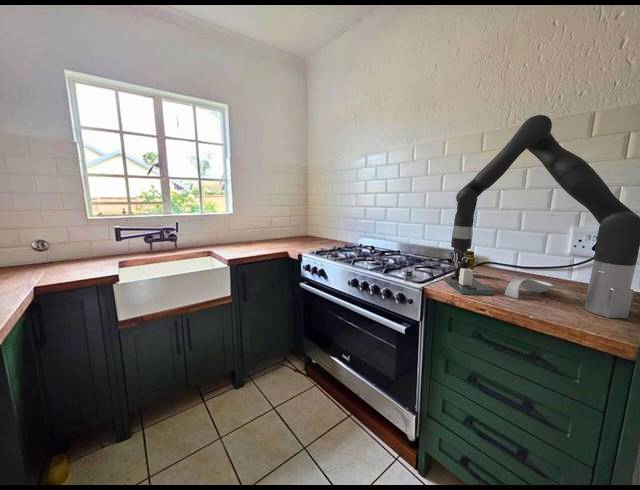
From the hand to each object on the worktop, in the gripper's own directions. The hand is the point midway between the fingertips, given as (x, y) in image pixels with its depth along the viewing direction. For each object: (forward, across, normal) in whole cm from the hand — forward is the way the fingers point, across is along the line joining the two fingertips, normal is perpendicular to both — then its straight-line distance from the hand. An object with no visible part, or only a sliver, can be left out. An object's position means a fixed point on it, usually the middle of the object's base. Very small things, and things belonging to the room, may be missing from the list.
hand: (457, 276), depth 117 cm
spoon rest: (+4, -8, -24) cm, 26 cm away
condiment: (+4, +16, -12) cm, 20 cm away
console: (+4, -4, -2) cm, 6 cm away
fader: (+1, -6, 0) cm, 7 cm away
